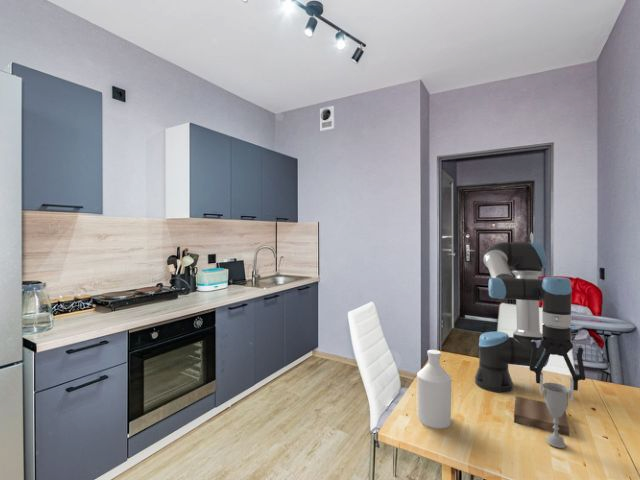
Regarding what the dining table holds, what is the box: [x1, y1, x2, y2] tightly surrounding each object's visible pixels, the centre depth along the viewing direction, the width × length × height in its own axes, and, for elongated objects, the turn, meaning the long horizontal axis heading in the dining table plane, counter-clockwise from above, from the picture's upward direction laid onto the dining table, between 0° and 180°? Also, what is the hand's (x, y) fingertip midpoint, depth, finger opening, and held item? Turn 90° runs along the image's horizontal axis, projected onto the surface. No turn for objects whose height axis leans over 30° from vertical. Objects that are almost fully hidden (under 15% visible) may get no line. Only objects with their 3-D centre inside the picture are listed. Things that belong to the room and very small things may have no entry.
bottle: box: [416, 349, 452, 430], centre depth 123 cm, size 12×12×25 cm
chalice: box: [543, 382, 570, 449], centre depth 108 cm, size 7×7×18 cm
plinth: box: [513, 395, 570, 437], centre depth 124 cm, size 16×16×3 cm
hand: (556, 396), depth 108 cm, fingers closed on chalice, 7 cm apart
